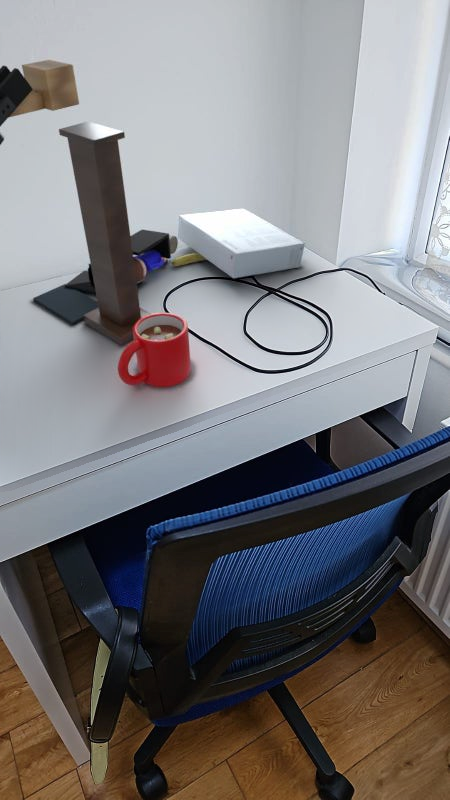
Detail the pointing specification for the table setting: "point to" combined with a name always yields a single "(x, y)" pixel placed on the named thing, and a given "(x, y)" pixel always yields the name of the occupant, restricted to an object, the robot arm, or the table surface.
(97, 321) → the stand
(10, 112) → the robot arm
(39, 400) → the table surface
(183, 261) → the banana
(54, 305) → the mat
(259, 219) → the skincare box
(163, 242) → the figurine character
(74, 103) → the wooden toy mallet
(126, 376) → the mug
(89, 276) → the black angular block
